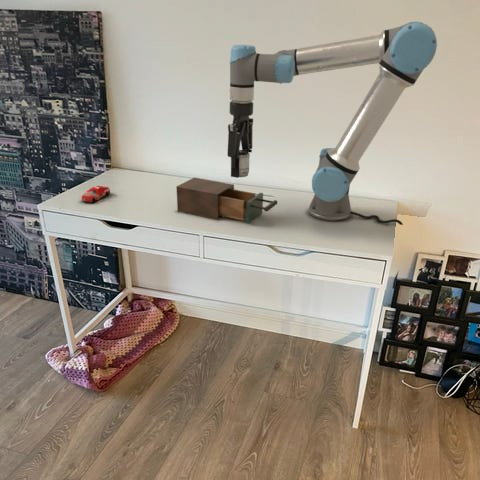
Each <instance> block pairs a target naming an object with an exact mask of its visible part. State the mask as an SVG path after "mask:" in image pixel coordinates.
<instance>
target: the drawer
mask: <svg viewBox="0 0 480 480" xmlns="http://www.w3.org/2000/svg"><path fill="white" fill-rule="evenodd" d="M264 203H269V204H267V205H266V206H263V205H264ZM277 205H278V201H277V199H274V200H269V199H264V192H259V193H258V194H256V193H255V192H249V191H246V190H239V189H235V188H234V189H230V190H228V191H227V192H225V193H223V194H222V195H220V196H219V215H221V216H223V217H227V218H231V219H234V220H240V221H245V224H250V223H251V222H253V221H254V220H255V219H257V218H258V217H259V216H261V215H263V210H264V212H269V211H270V210H271V209H273V208H274V207H275V206H277Z"/></svg>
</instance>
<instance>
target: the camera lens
mask: <svg viewBox="0 0 480 480" xmlns="http://www.w3.org/2000/svg"><path fill="white" fill-rule="evenodd" d="M250 155H251V154H250V152H249V153H248V152H247V151H244V150H242V149H239V154H238V157H239V178H246V177H248V176H249V172H250V157H251V156H250Z"/></svg>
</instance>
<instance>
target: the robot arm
mask: <svg viewBox="0 0 480 480" xmlns="http://www.w3.org/2000/svg"><path fill="white" fill-rule="evenodd" d="M437 42H438V39H437V35H436V33H435V31H434V30H433V28H432V27H431V26H429V25H428V24H426V23H423V22H422V21H411V22H408V23H405V24H403V25H400V26H396V27H393V28H389V29H384V30H382V31H381V33H379V34H376V35H370V36H365V37H359V38H353V39H346V40H341V41H335V42H328V43H323V44H322V43H321V44H317V45H312V46H311V45H310V46H305V47H299V48H293V49H283V50H279V51H277V52H275V53H258V52H257V50H256V46H254V45H251V44H235V45H233V46H232V47H231V48H230V59H229V89H228V91H229V100H230V102H229V115H231V116H233V118H232V123H231V124H230V123H229V124H228V125H227V129H228V130H227V131H228V132H227V133H228V135H227V137H228V138H227V157H229V158H230V177H231V178H237V179H239V178H240V177H239V157H238V154H239V150H240V148H241V150H244V151H247V152H248V153H249V154H250V153H253V150H252V149H253V127H254V126H253V125H254V118H252V117H251V116H252V115H253V114H254V102H253V101H254V100H255V82H261V83H262V82H263V83H276V84H279V85H281V84H291V83H292V82H293V80H294V77H295V76H301V75H307V74H314V73H322V72H328V71H335V70H343V69H350V68H355V67H356V68H357V67H363V66H369V65H376V64H378V69H379V70H378V71H379V73H378V75H377V76H376V78H375V80H374V82H373V83H372V85H371V86H370V88H369V89H368V92H367V94H366V96H365V97H364V98H363V100H362V102H361V104H360V105H359V107H358V109H357V110H356V113H354V116H353V117H352V119H351V121H350V122H349V124H348V126H347V127H346V129H345V131H344V132H343V134H342V135H341V137H340V139H339V141H338V142H337V144H336V146H335V147H325V148H322V149H321V150H320V153H319V157H318V158H319V161H318V162H319V163H318V167H317V168H316V170H315V173H314V174H313V175H312V178H311V188H312V189H311V190H312V191H313V193H314V195H313V197H312V199H311V202H310V204H309V207H308V213H309V215H310V216H312V217H313V218H316V219H318V220H322V221H328V222H329V221H330V222H340V221H344V220H347V219H349V218H350V217H351V216H352V215H353V216H356V217H360V218H361V219H362V218H363V219H366V220H369V219H376V221H377V222H378V223H380V224H390V223H397V224H398V225H401V226H403V225H404V223H403V222H402V221H401V220H400V219H394V218H392V219H387V220H382V219H380V216H378V215H375V214H372V215H364V214H361V213H358V212H355V211H352V207H351V201H350V188H351V187H350V186H351V184H352V182H353V180H354V179H355V177H356V176H357V174H358V172H359V171H360V169H361V168H360V164H359V163H360V161H361V158H362V157H363V155H364V154H365V152H366V151H367V149H368V148H369V146H370V145H371V144H372V141H373V140H374V138H375V136H376V135H377V133H378V132H379V130H380V129H381V127H382V126H383V124H384V123H385V121H386V119H387V118H388V117H389V115H390V113H391V112H392V110H393V108H394V106H396V103H397V102H398V101H399V99H400V97H401V96H402V94H403V92H404V91H405V90H406V89H407V88H410V87H412V86H414V85H415V84H416V82H417V81H418V79H419V78H420V76H421V74H422V73H423V71H424V70H425V69H426V68H427V67H428V66H429V65H430V64H431V62H432V61H433V60H434V58H435V55H436V52H437V47H438V43H437ZM250 117H251V118H250ZM240 146H241V147H240ZM399 271H400V270H398V271H397V273H396V274H395V277H394V278H393V283H392V289H393V290H394V289H396V284H397V280H398V275H399Z"/></svg>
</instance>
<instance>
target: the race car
mask: <svg viewBox="0 0 480 480" xmlns="http://www.w3.org/2000/svg"><path fill="white" fill-rule="evenodd" d="M110 194H111V189H110V187H109V186H106V185H95V186H92V187H90V188H89V189H88V190H86V192H85V193H84V194H83V195H81V197H80V198H81V201H82V202H84V203H94V204H95V203H96V201H99V200H100V199H103V198H107V197H109V195H110Z"/></svg>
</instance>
